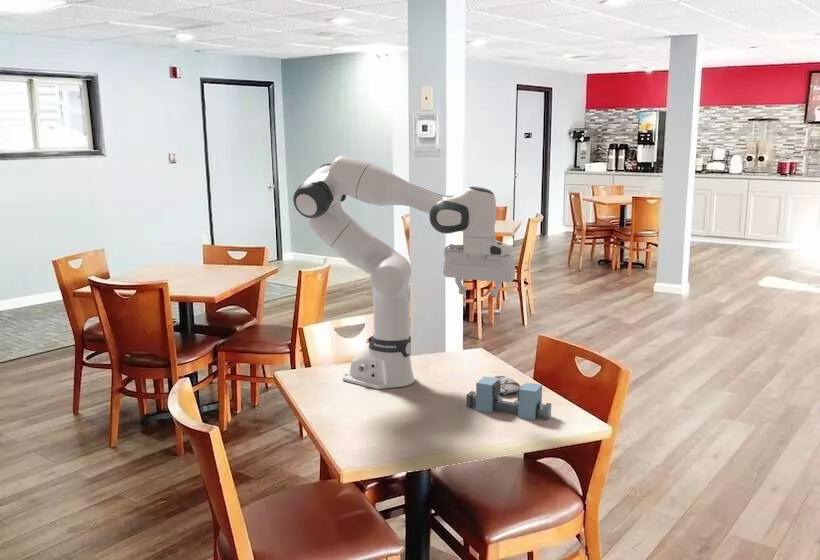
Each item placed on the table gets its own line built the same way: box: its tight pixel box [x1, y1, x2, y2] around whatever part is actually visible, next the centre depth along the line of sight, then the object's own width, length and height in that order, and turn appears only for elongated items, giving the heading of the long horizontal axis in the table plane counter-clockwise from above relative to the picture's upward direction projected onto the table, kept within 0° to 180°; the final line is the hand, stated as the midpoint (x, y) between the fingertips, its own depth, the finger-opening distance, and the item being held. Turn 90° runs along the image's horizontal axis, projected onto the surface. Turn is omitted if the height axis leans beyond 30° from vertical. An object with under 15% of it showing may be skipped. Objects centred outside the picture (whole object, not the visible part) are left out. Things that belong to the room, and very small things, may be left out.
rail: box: [465, 390, 552, 421], centre depth 207 cm, size 23×4×4 cm, turn 65°
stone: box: [493, 375, 522, 396], centre depth 225 cm, size 12×9×3 cm
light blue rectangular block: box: [475, 376, 501, 414], centre depth 209 cm, size 5×6×8 cm
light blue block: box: [517, 382, 543, 421], centre depth 204 cm, size 5×6×8 cm
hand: (478, 295), depth 210 cm, fingers open, 8 cm apart
